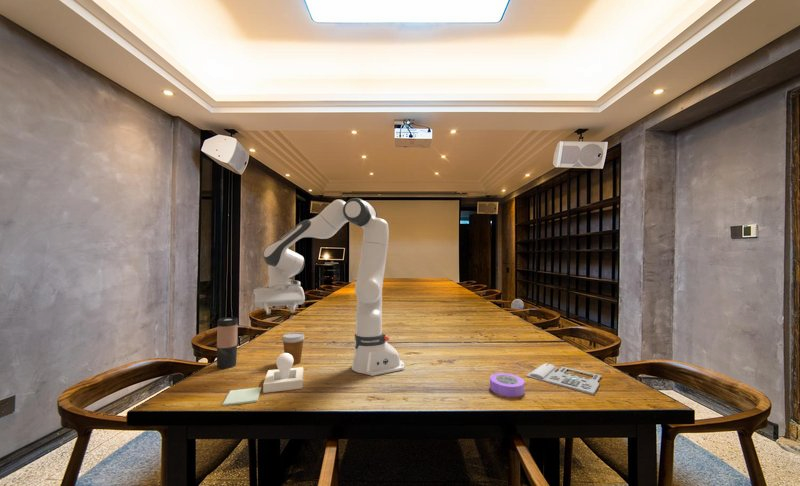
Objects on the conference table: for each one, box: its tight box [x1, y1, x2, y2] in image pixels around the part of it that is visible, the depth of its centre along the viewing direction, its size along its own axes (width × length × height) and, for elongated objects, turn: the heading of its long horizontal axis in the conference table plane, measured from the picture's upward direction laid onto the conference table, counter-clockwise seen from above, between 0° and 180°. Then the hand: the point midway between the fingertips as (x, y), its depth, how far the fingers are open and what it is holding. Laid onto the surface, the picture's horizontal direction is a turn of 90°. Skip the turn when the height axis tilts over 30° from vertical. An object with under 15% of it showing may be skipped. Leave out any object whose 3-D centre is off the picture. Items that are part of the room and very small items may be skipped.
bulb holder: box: [262, 366, 304, 394], centre depth 115 cm, size 13×13×3 cm
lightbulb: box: [275, 352, 294, 379], centre depth 115 cm, size 6×6×11 cm
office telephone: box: [526, 362, 603, 396], centre depth 122 cm, size 23×3×20 cm
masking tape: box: [489, 372, 525, 398], centre depth 111 cm, size 12×12×4 cm
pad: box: [222, 386, 263, 407], centre depth 104 cm, size 10×10×1 cm
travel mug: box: [216, 316, 239, 370], centre depth 132 cm, size 8×8×20 cm
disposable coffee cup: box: [281, 332, 306, 366], centre depth 137 cm, size 10×10×12 cm
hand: (281, 312), depth 128 cm, fingers open, 8 cm apart
